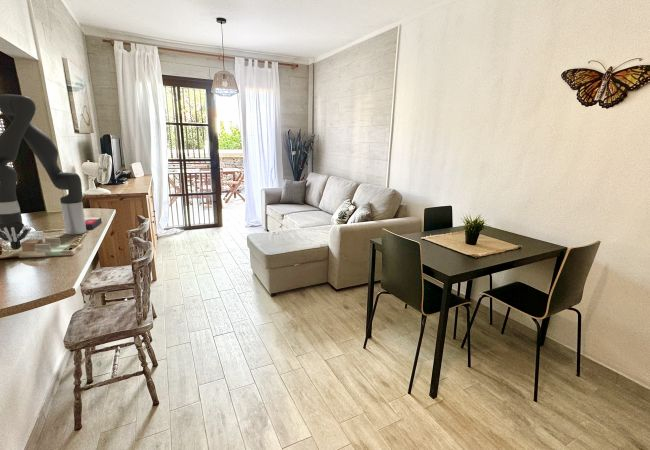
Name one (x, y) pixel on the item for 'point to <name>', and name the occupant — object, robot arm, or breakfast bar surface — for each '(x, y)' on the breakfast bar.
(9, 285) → the breakfast bar surface
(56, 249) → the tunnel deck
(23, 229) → the robot arm
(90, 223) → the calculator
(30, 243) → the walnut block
